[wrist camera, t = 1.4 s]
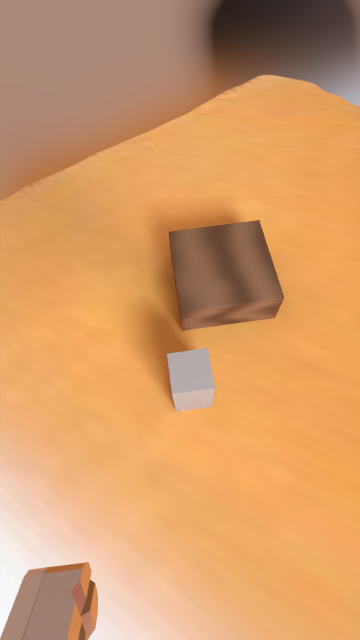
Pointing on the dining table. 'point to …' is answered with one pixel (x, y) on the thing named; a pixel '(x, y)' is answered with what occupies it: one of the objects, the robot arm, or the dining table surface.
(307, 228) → the dining table surface
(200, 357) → the slate block
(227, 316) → the walnut slab
